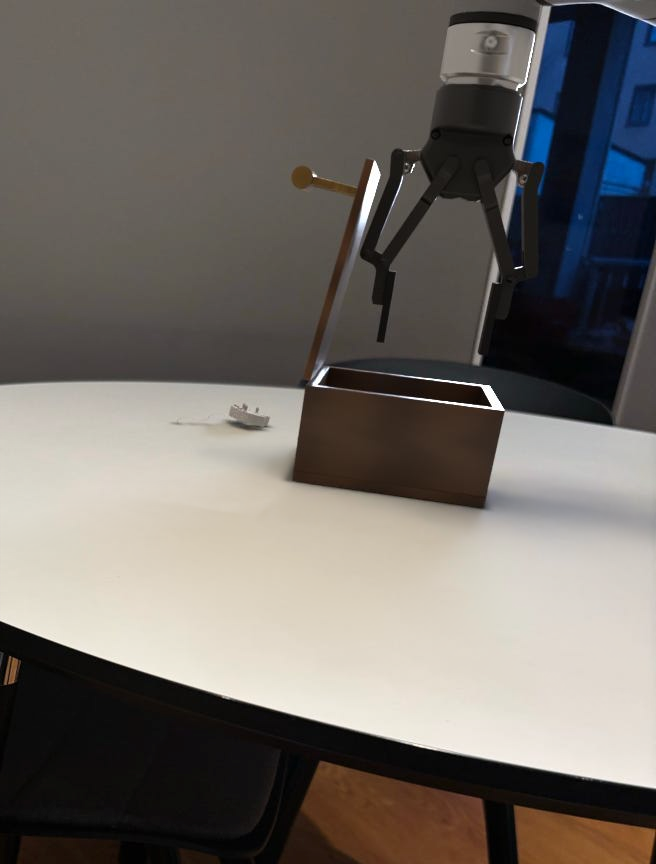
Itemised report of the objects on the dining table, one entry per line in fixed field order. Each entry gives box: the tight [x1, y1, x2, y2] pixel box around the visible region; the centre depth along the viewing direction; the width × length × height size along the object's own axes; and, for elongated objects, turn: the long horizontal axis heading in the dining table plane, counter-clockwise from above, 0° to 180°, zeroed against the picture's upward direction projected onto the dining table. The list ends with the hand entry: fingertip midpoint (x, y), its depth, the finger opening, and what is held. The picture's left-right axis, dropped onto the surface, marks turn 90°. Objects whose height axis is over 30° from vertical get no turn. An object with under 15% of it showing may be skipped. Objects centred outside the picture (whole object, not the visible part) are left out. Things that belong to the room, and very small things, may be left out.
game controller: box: [177, 403, 271, 428], centre depth 120 cm, size 6×12×3 cm, turn 129°
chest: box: [291, 364, 506, 509], centre depth 102 cm, size 18×18×9 cm
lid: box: [290, 157, 381, 381], centre depth 98 cm, size 19×18×7 cm
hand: (431, 347), depth 99 cm, fingers open, 9 cm apart
